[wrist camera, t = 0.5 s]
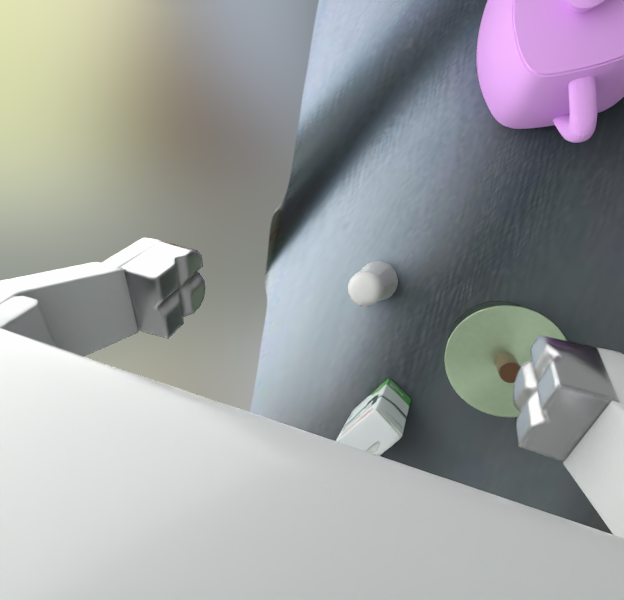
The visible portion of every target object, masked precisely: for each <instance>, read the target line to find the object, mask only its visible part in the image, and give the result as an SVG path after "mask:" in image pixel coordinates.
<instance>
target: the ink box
mask: <svg viewBox="0 0 624 600" xmlns="http://www.w3.org/2000/svg"><path fill="white" fill-rule="evenodd" d="M410 401H411V399H410V398H409V397H408V396H407V395H406V394H405V393H404V392H403V391H402V390H401V389H400V388H399V387H398V386H397V385H396V384H395V383H394V382H393V381H391V380H390V379H387V380H386V381H385V382H384V383H383V384H382V385H380V386H379V387H378V388H377V389H376V390H375V391H374V392H373V393H372V394H371V395H369V396H368V397H367V398H366V399H365V400H364V401H363V402H362V403H361V404H359V405H358V406H357V407H356V408H355V409H354V410H353V411H352V413H351V415H350V417H349V418H348V420H347V422H346V424H345V425H344V427H343V429H342V431H341V432H340V434H339V436H338V438H337V440H336V442H339V443H342V444H345V445H348V446H351V447H354V448H357V449H360V450H363V451H366V452H369V453H372V454H375V455H378V456H380V455H381V454H382V453H383V452H384V451H385V450H387V449H389V448H390V447H391V446H392V445H393V444H394V443H395V442H397V441H398V440H399V439H400V438H401V437H402V435H403V431H404V426H405V422H406V418H407V414H408V410H409V405H410Z"/></svg>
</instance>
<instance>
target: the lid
mask: <svg viewBox="0 0 624 600" xmlns="http://www.w3.org/2000/svg"><path fill="white" fill-rule="evenodd" d="M539 335H542V336H547V337H551V338H556V339H560V340H565V341H566V339H565V337H564V335H563V334H562V332H561V331H560V330H559V328H558V327H557V326H556V325H555V324H554V323H553V322H551V321H550V320H549V319H547V318H546V317H545V316H543V315H541V314H539V313H538V312H535V311H533V310H531V309H528V308H524V307H520V306H515V305H497V306H491V307H487V308H484V309H481V310H479V311H476V312H474V313H472V314H471V315H469V316H467V317H466V318H465V319H464V320H462V321H461V322H460V323H459V324H458V325H457V326H456V328H455V329H454V331H453V332H452V334H451V336H450V337H449V340H448V342H447V345H446V350H445V368H446V373H447V376H448V379H449V381H450V383H451V385H452V387H453V388H454V389H455V391H456V392H457V393H458V395H459V396H460V397H461V398H462V399H463V400H465V401H466V402H467V403H468V404H470V405H471V406H473V407H474V408H476V409H478V410H480V411H482V412H485V413H488V414H491V415H495V416H501V417H518V416H519V414H520V412H519V411H518V410H517V408H516V407H515V406H514V404H513V386H514V383H515V379H516V375H517V373H518V371H519V369H520V367H521V365H522V364H524V363H526V362H528V361H530V360H532V358H531V352H530V348H531V347H532V345H533V343H534V341H535V340H536V339H537V338H538V336H539Z"/></svg>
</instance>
